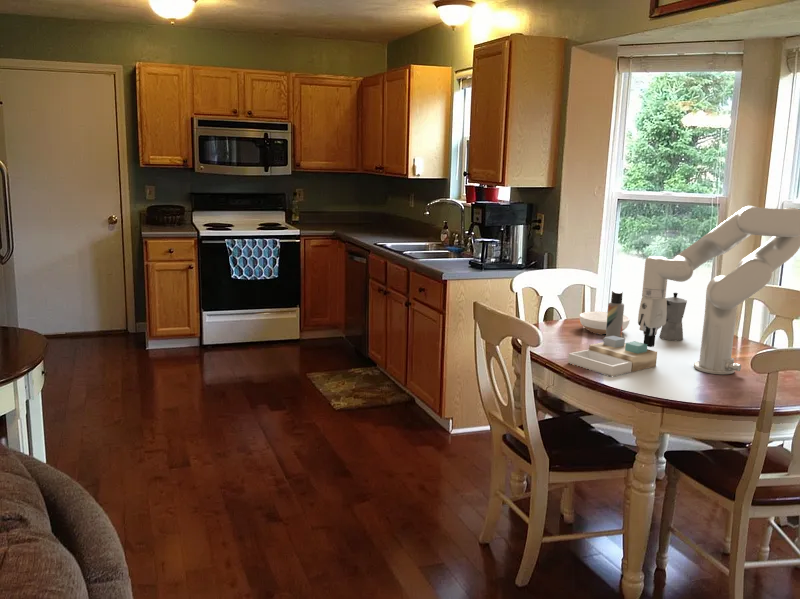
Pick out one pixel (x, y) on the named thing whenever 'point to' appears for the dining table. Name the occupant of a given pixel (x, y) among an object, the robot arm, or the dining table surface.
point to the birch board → (628, 355)
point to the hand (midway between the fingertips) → (648, 345)
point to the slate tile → (614, 341)
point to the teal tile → (636, 347)
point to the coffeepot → (674, 319)
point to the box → (600, 362)
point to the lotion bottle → (615, 315)
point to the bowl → (598, 321)
